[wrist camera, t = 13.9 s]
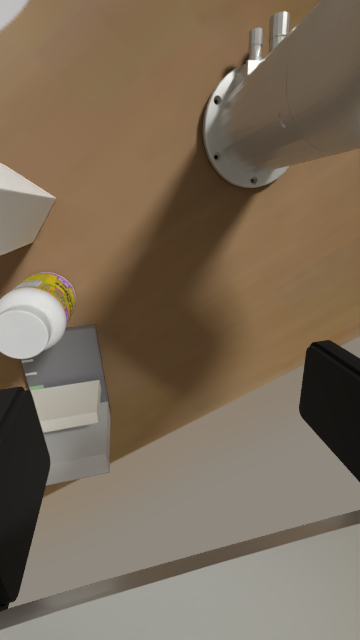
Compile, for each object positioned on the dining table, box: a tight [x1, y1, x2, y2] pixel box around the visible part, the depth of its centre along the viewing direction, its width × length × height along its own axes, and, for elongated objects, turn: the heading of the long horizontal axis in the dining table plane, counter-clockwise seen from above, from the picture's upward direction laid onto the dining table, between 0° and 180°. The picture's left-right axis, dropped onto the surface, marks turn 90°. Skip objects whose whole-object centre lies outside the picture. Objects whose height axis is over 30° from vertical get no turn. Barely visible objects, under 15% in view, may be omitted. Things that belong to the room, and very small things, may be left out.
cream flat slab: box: [31, 380, 101, 433], centre depth 37 cm, size 2×10×7 cm, turn 93°
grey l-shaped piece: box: [21, 325, 111, 486], centre depth 36 cm, size 15×10×11 cm, turn 3°
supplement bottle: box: [0, 272, 76, 359], centre depth 31 cm, size 7×7×13 cm
